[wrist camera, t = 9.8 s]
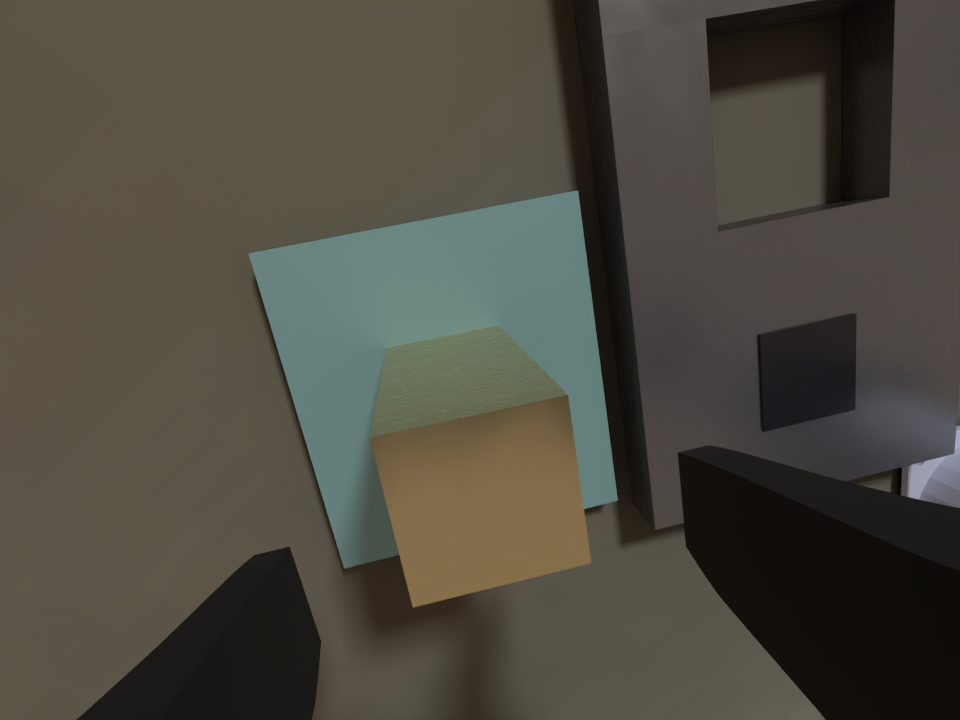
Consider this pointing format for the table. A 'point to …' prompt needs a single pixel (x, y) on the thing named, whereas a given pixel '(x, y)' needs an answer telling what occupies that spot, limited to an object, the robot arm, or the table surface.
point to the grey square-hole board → (778, 249)
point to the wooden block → (476, 465)
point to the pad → (429, 335)
